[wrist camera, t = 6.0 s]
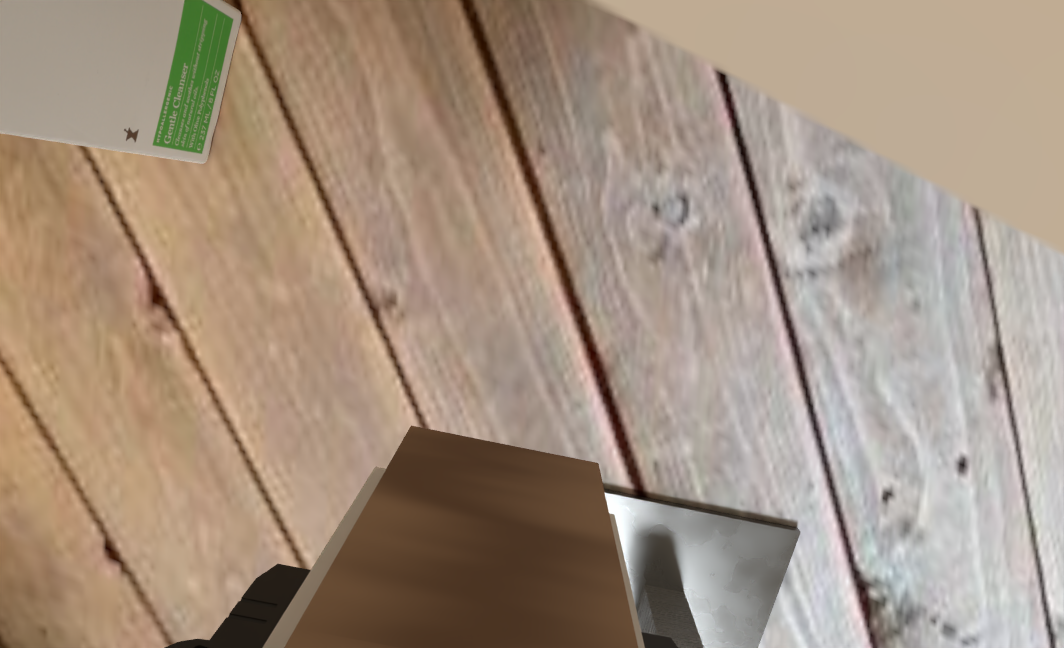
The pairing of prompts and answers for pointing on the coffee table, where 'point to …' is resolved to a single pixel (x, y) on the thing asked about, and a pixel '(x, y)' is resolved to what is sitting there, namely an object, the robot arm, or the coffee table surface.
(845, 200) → the coffee table surface
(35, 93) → the skincare box
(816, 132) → the coffee table surface
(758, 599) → the grey square base plate
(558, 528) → the tan wooden block
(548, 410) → the coffee table surface
